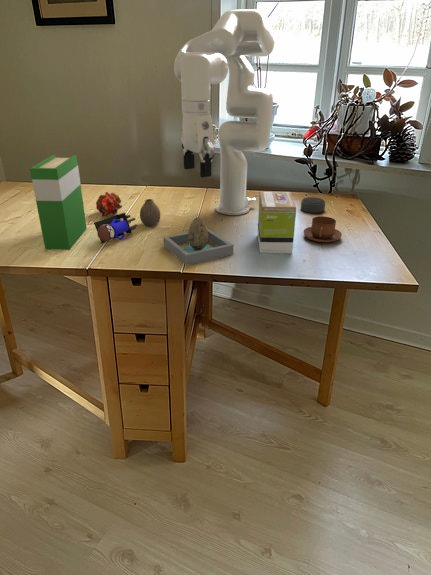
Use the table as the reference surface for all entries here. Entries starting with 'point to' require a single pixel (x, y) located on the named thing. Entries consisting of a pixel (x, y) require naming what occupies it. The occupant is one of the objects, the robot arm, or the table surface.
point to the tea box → (276, 222)
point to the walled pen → (195, 256)
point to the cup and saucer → (323, 230)
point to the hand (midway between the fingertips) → (197, 172)
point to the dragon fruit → (108, 204)
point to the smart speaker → (313, 205)
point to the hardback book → (59, 201)
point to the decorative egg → (198, 234)
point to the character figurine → (114, 227)
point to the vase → (150, 213)
